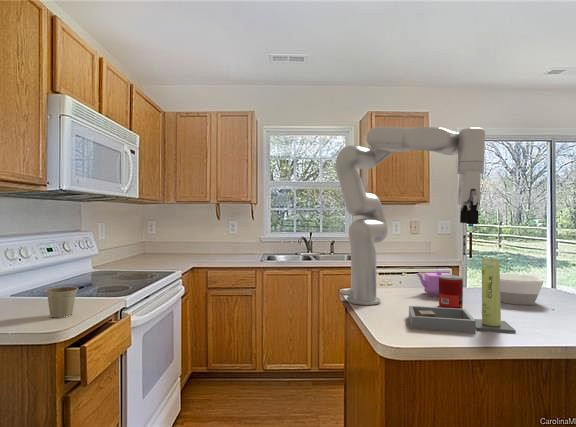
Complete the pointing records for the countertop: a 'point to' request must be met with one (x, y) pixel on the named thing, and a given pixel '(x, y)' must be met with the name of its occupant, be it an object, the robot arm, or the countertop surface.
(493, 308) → the tube
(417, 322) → the bin
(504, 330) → the trivet
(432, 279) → the teapot
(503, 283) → the bowl
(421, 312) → the walnut block
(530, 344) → the countertop surface
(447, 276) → the canned food
